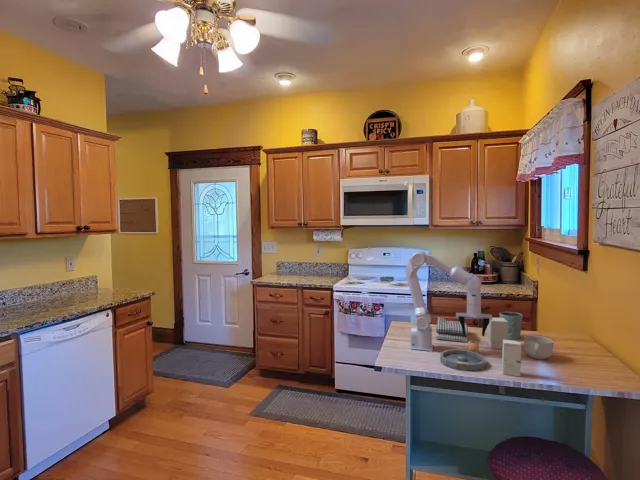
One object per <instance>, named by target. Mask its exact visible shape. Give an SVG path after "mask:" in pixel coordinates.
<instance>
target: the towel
mask: <svg viewBox="0 0 640 480" xmlns="http://www.w3.org/2000/svg"><path fill="white" fill-rule="evenodd" d="M435 333H436V334H435V335H436V336H435V337H436V339H437V340H440V339H441V340H442V341H451V342H458V343H459V342H461V343H462V342H463V343H468V341H469V340H468V338H469V326H468V324H467V322H466V321H465V335H463V329H462V326H461V324H460V322H459V320H457V321H455V320H447V319H445V318H444V317H441V316H439V317H437V321H436V326H435Z"/></svg>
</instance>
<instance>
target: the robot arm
mask: <svg viewBox="0 0 640 480" xmlns="http://www.w3.org/2000/svg"><path fill="white" fill-rule="evenodd" d="M424 264H425V266H433V267H436V268H437V269H439V270H441V271H444V272H445V273H447V274H449V277H450V278H451V280H454V281H455V282H458V283H460V285H463V286H466V287H467V292H466V312H455V318H456V319H458V321H459V322H460V324H461V326H462V329H463V335H465V322H466V320H465V319H476V320H481V321H482V330H481V336H482V337H485V335H486V332H487V326H488V324H489V322H490V321H489V320H492V318H493V315H492V314H488V313H487V314H486V313H482V294H481V293H482V290H481V289H482V286H483V285H482V282H481V279H480V277H478V276H477V275H475V274H474V273H473V272H471V273H470V272H468V271H466V270H464V268H463V267H462V266H454V267H453V266H452V265H449V264H448V263H446V262H444V261H443V260H442V259H439V258H438V257H436V256H434V255H432V254H431V253H427V252H425V251H423V250H418V251H415V252H414V253H413V254H412V255H410V257H409V259H408V261H407V265H406V267H405V270H404V272H405V277H406V280H407V283H408V287H409V288H408V289H409V292H410V295H411V299H412V303H413V306H414V307H413V308H414V315H415V322H414V323H415V327H411V328H410V342H409V344H410V349H411V350H416V351H417V350H418V351H426V352H427V351H429V352H433V350H434V349H433V348H434V345H433V333H432V332H433V328H432V326H431V323H432V320H433V319H432V315H431V314H430V313H429V311H428V309H427V306H426V303H425V299H424V296H423V292H422V288H421V285H420V281H419V278H418V271H419V269H420V268H421V267H423V265H424Z"/></svg>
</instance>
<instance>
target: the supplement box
mask: <svg viewBox="0 0 640 480" xmlns="http://www.w3.org/2000/svg"><path fill="white" fill-rule="evenodd" d="M489 321H490V322H489V324H488V326H487V328H486V344H487V345H488V346H489V348H490V349H495V350H497V349H498V350H503V340H508V321H506V320H505V319H504V318H500V317H492V320H489Z"/></svg>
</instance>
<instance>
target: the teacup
mask: <svg viewBox="0 0 640 480" xmlns="http://www.w3.org/2000/svg"><path fill="white" fill-rule="evenodd" d="M523 340H524V341H523V350H524V352H525V353H526V354H527V355H528V356H529V357H530V358H533V359H536V360H547V359H548V358H550V357H551V356H552V354H553V352H554V351H553V349H554V343H555V341H554V340H552V339H551V338H548V337H545V336H541V335H534V334H527V335H524V336H523Z"/></svg>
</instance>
